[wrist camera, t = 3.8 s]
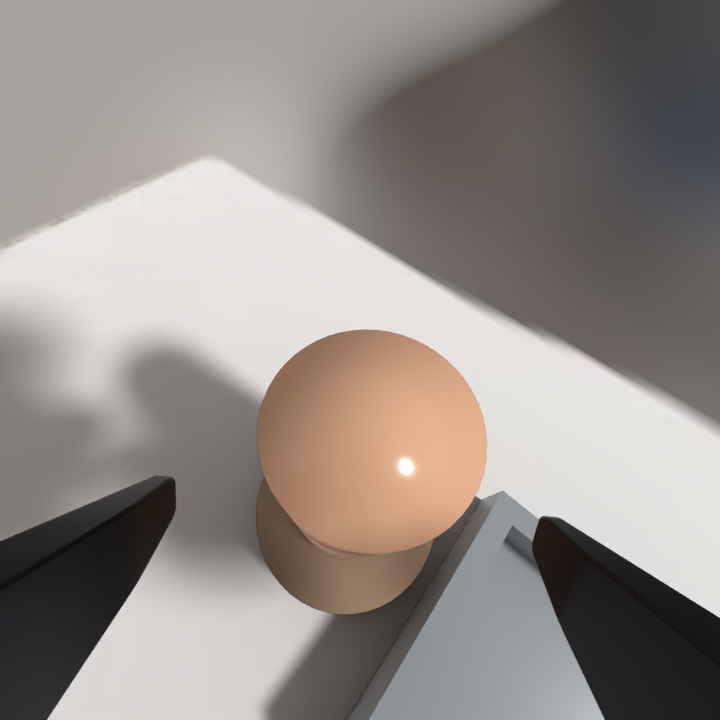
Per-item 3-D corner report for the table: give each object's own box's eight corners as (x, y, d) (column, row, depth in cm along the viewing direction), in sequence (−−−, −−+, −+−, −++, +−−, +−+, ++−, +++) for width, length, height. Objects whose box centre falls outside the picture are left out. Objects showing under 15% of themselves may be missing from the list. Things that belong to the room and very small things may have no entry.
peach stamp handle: (352, 586, 13) (394, 624, 5) (277, 507, 15) (206, 428, 6) (415, 498, 15) (525, 415, 7) (344, 435, 17) (361, 299, 8)
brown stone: (353, 658, 14) (356, 671, 12) (228, 517, 16) (216, 511, 14) (455, 501, 17) (469, 494, 16) (341, 404, 20) (342, 389, 18)
